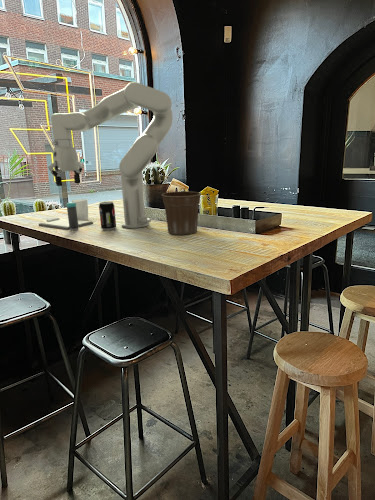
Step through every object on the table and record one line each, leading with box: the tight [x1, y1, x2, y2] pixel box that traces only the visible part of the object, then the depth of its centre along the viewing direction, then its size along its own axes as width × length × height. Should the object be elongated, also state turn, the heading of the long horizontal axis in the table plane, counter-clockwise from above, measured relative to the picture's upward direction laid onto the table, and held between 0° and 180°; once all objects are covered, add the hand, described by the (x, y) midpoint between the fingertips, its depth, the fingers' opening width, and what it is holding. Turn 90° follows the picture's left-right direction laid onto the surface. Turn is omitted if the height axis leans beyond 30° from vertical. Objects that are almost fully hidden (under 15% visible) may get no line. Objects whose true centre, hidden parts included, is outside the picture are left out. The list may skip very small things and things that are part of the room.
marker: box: [65, 201, 80, 232], centre depth 166 cm, size 4×4×12 cm
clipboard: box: [38, 217, 94, 231], centre depth 180 cm, size 22×15×2 cm
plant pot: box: [161, 190, 202, 236], centre depth 153 cm, size 16×16×16 cm
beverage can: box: [98, 201, 117, 231], centre depth 165 cm, size 7×7×12 cm
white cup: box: [71, 198, 89, 221], centre depth 192 cm, size 8×8×10 cm
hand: (68, 184), depth 163 cm, fingers open, 9 cm apart
